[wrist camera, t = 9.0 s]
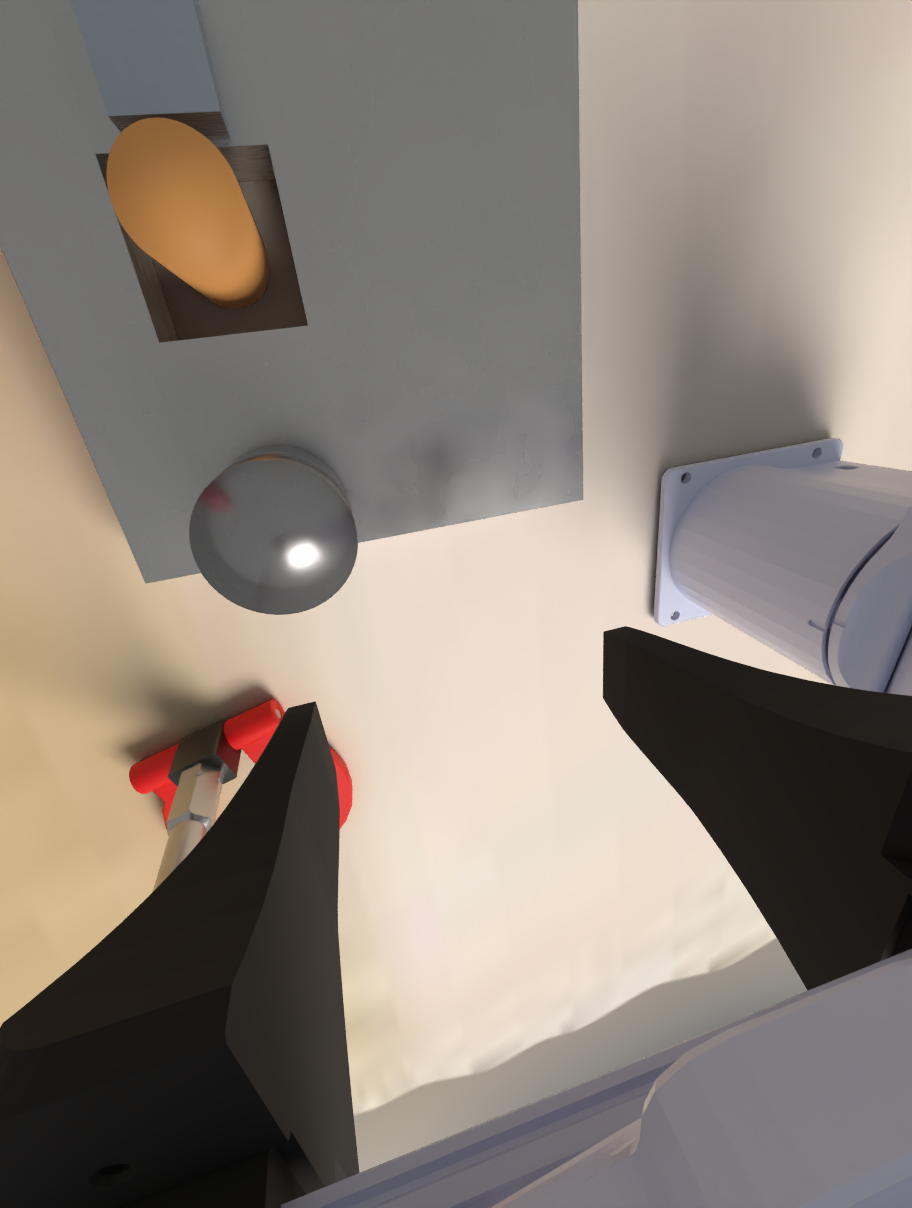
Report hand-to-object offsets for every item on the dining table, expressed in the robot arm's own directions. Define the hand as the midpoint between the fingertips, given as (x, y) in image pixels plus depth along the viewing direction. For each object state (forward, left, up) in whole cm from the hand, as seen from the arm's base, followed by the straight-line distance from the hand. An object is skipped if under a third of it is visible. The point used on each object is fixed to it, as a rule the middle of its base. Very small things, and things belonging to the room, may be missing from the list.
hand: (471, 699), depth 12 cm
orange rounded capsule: (+4, -11, -10) cm, 16 cm away
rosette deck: (+1, -9, -10) cm, 14 cm away
